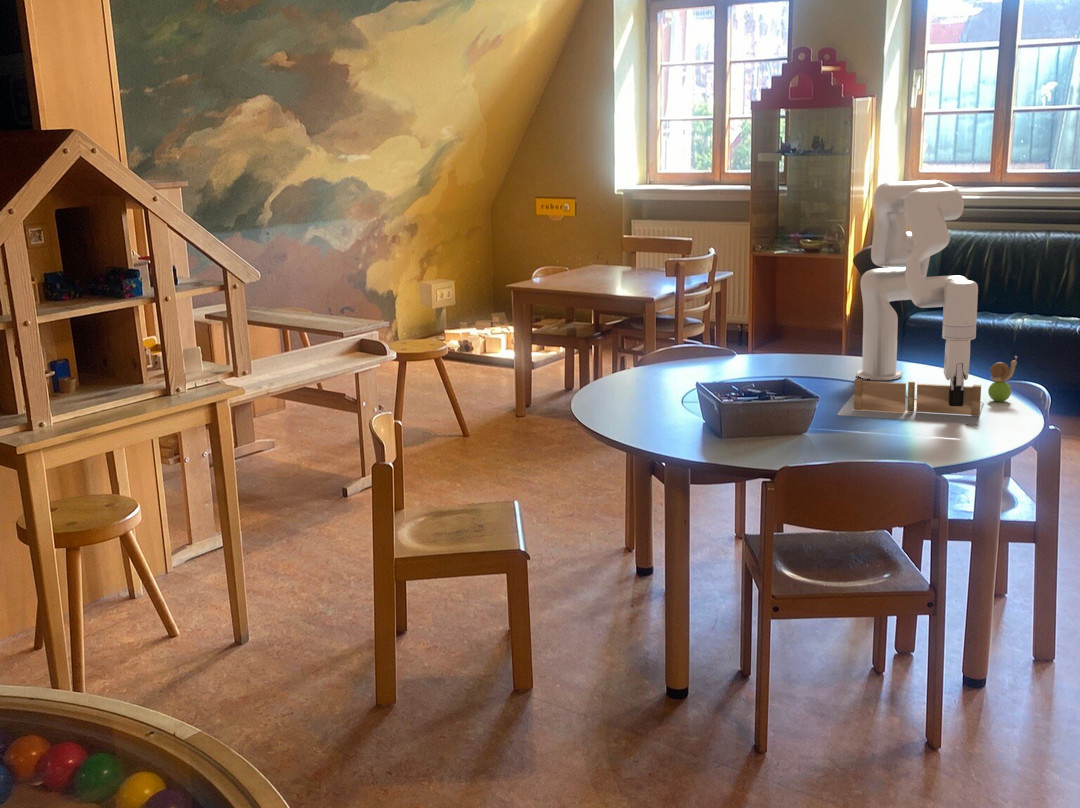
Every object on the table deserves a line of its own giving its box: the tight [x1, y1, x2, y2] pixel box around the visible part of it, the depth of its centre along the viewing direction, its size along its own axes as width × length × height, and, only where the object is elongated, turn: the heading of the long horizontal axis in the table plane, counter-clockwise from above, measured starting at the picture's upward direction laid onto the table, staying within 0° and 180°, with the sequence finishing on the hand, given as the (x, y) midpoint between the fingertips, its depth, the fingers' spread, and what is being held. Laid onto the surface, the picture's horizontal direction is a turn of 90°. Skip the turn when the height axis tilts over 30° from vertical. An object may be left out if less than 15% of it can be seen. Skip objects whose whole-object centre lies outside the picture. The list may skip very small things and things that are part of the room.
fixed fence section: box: [853, 378, 907, 412], centre depth 263 cm, size 2×12×8 cm, turn 63°
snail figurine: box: [987, 355, 1018, 403], centre depth 266 cm, size 5×6×12 cm
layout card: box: [836, 394, 984, 426], centre depth 264 cm, size 22×33×1 cm, turn 63°
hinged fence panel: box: [907, 381, 982, 417], centre depth 256 cm, size 2×17×7 cm, turn 64°
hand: (955, 405), depth 252 cm, fingers closed
